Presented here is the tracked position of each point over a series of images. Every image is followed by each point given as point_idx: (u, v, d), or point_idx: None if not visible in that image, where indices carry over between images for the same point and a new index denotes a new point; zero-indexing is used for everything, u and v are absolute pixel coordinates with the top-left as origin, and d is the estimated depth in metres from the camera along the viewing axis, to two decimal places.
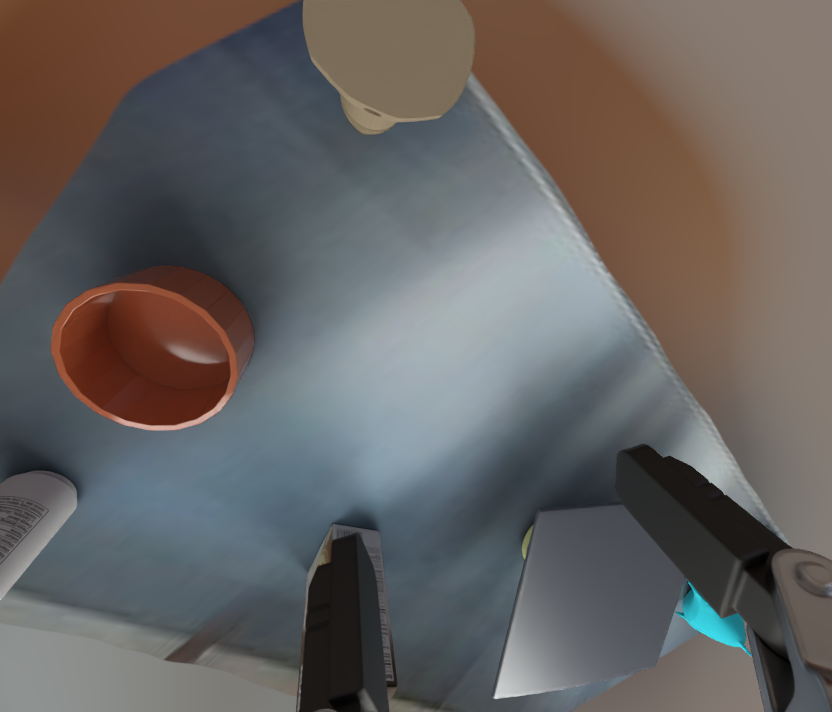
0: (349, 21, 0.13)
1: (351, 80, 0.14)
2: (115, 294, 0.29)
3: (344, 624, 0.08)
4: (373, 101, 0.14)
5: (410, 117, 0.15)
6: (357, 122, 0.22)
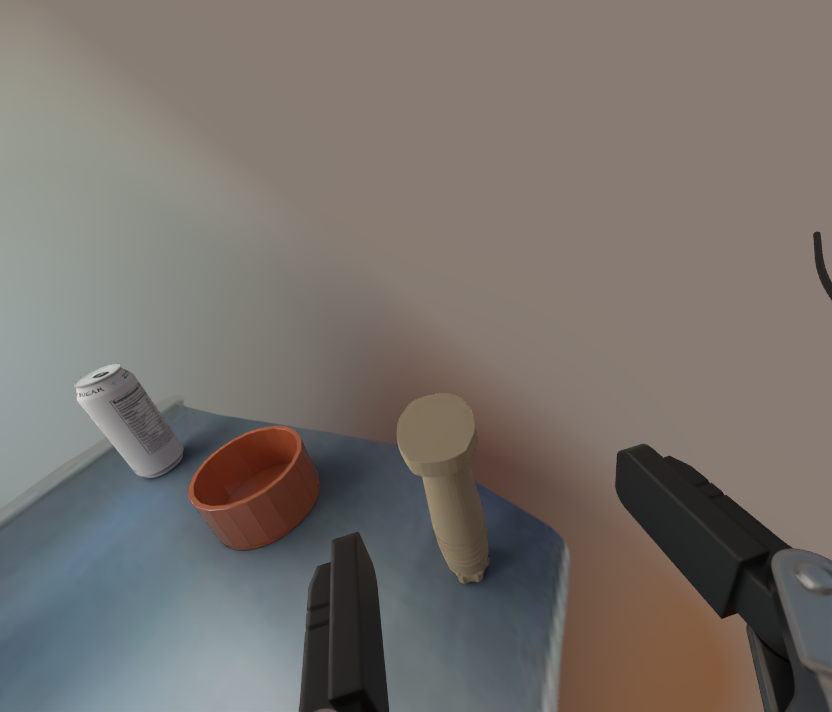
0: (430, 409, 0.24)
1: (405, 418, 0.24)
2: None
3: (344, 624, 0.08)
4: (400, 429, 0.23)
5: (399, 446, 0.22)
6: None
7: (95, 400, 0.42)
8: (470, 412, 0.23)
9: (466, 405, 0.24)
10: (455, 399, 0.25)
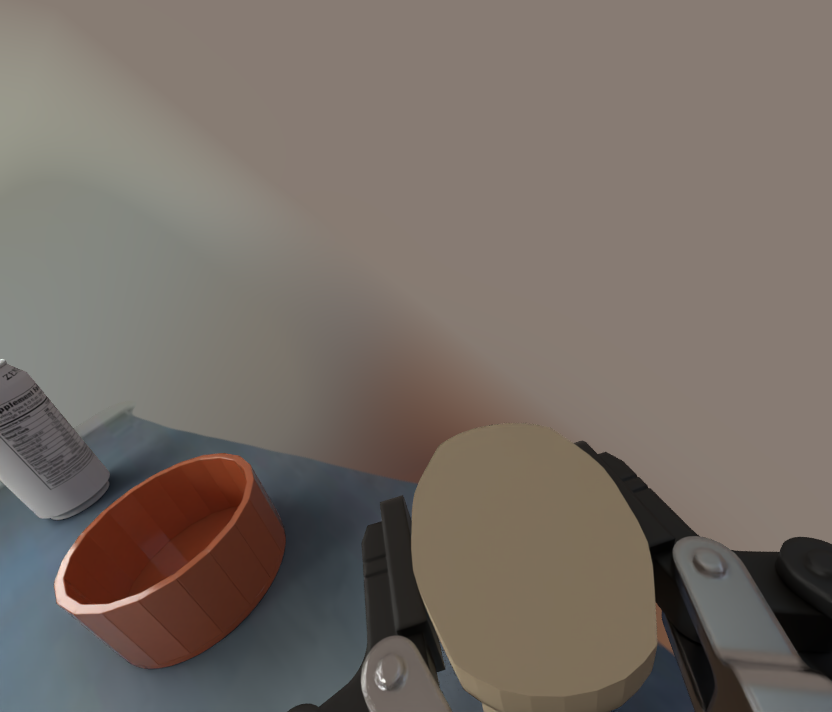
0: (494, 465, 0.10)
1: (433, 489, 0.09)
2: None
3: (402, 570, 0.09)
4: (421, 524, 0.09)
5: (421, 591, 0.07)
6: None
7: None
8: (609, 482, 0.09)
9: (589, 459, 0.09)
10: (553, 440, 0.10)
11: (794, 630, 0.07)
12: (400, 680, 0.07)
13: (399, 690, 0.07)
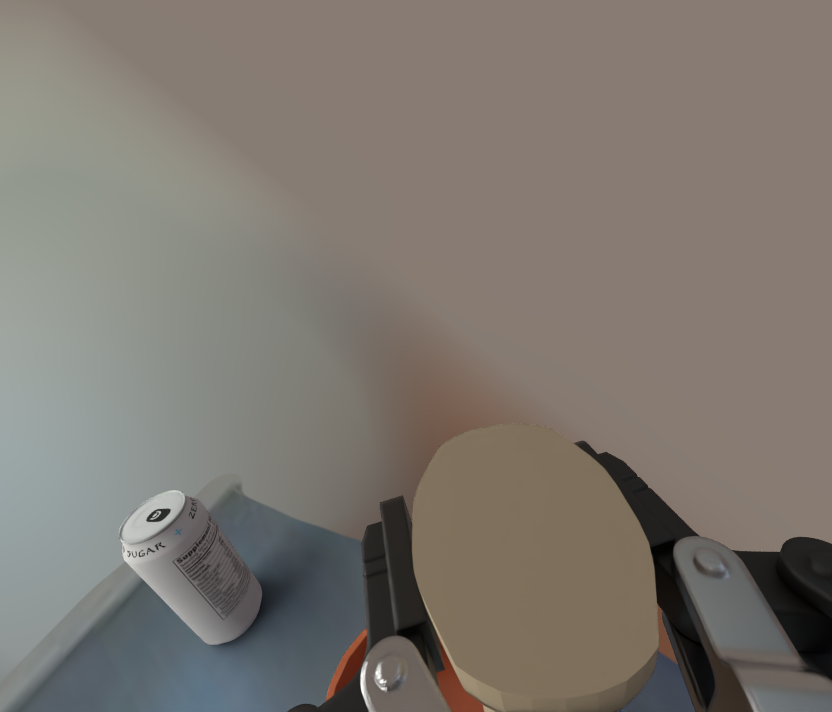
0: (495, 466, 0.10)
1: (433, 491, 0.09)
2: None
3: (402, 570, 0.09)
4: (421, 525, 0.09)
5: (422, 592, 0.07)
6: None
7: (151, 563, 0.28)
8: (610, 483, 0.09)
9: (590, 460, 0.09)
10: (553, 441, 0.10)
11: (794, 630, 0.07)
12: (400, 680, 0.07)
13: (399, 690, 0.07)
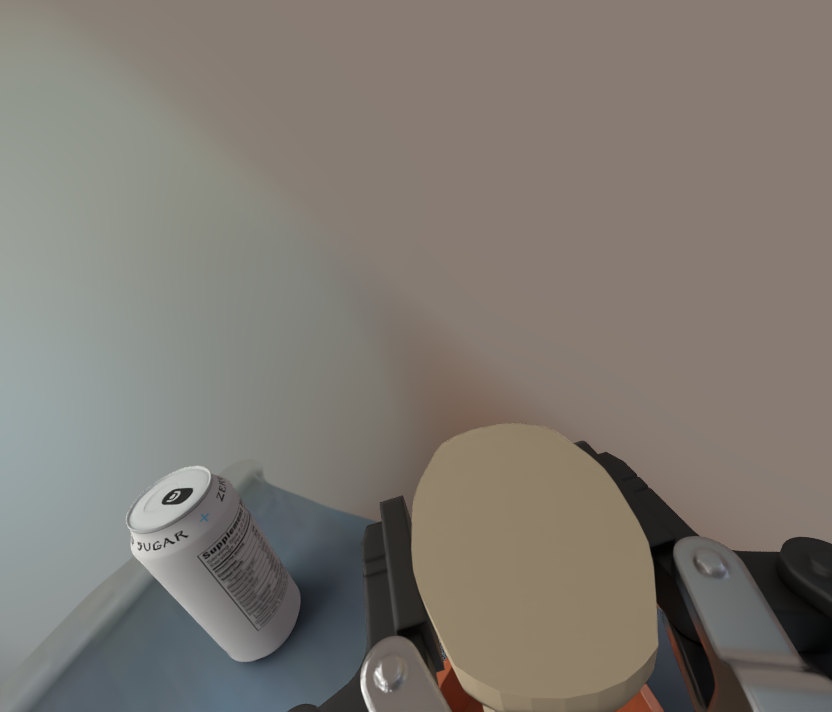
0: (495, 466, 0.10)
1: (433, 490, 0.09)
2: None
3: (401, 570, 0.09)
4: (421, 525, 0.09)
5: (422, 592, 0.07)
6: None
7: (170, 559, 0.21)
8: (610, 483, 0.09)
9: (590, 460, 0.09)
10: (553, 441, 0.10)
11: (794, 630, 0.07)
12: (400, 680, 0.07)
13: (399, 690, 0.07)
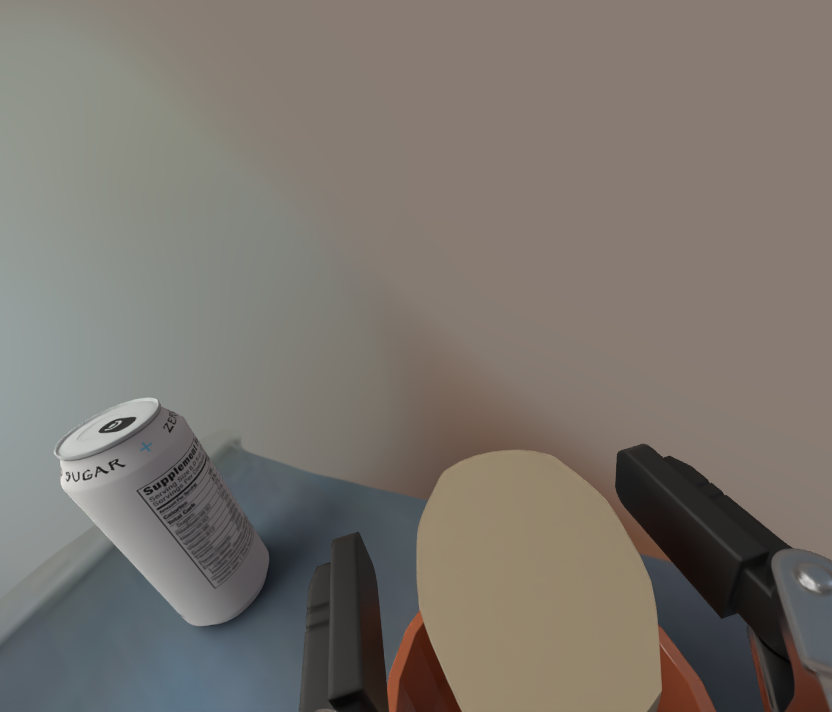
0: (498, 496, 0.10)
1: (437, 521, 0.10)
2: None
3: (344, 624, 0.08)
4: (426, 558, 0.09)
5: (428, 630, 0.07)
6: None
7: (102, 491, 0.18)
8: (612, 516, 0.09)
9: (592, 490, 0.09)
10: (555, 469, 0.10)
11: None
12: None
13: None
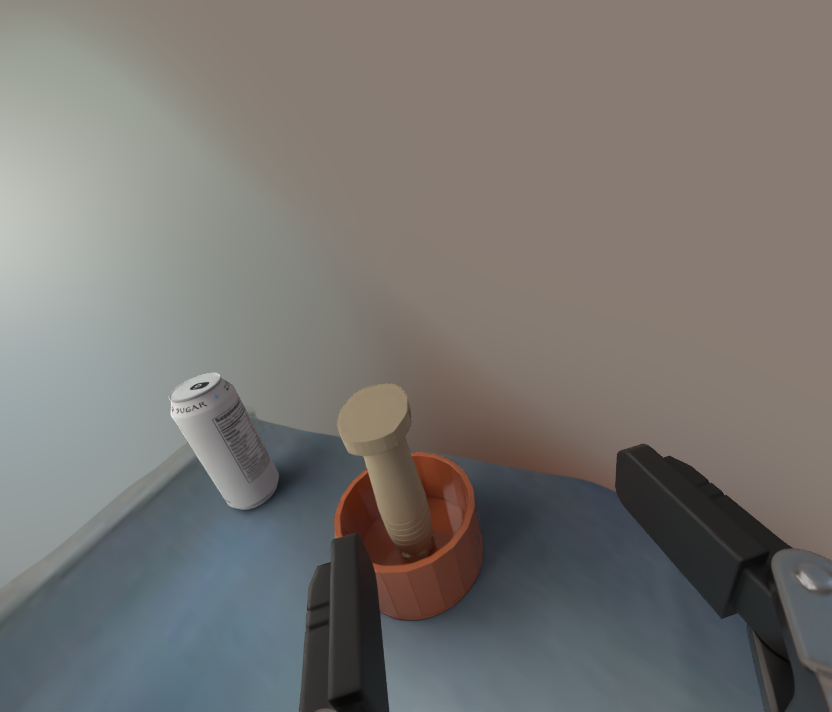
0: (372, 397, 0.27)
1: (349, 405, 0.26)
2: (439, 497, 0.36)
3: (344, 624, 0.08)
4: (342, 414, 0.25)
5: (338, 428, 0.24)
6: None
7: (195, 418, 0.34)
8: (405, 399, 0.25)
9: (403, 393, 0.26)
10: (395, 388, 0.27)
11: None
12: None
13: None
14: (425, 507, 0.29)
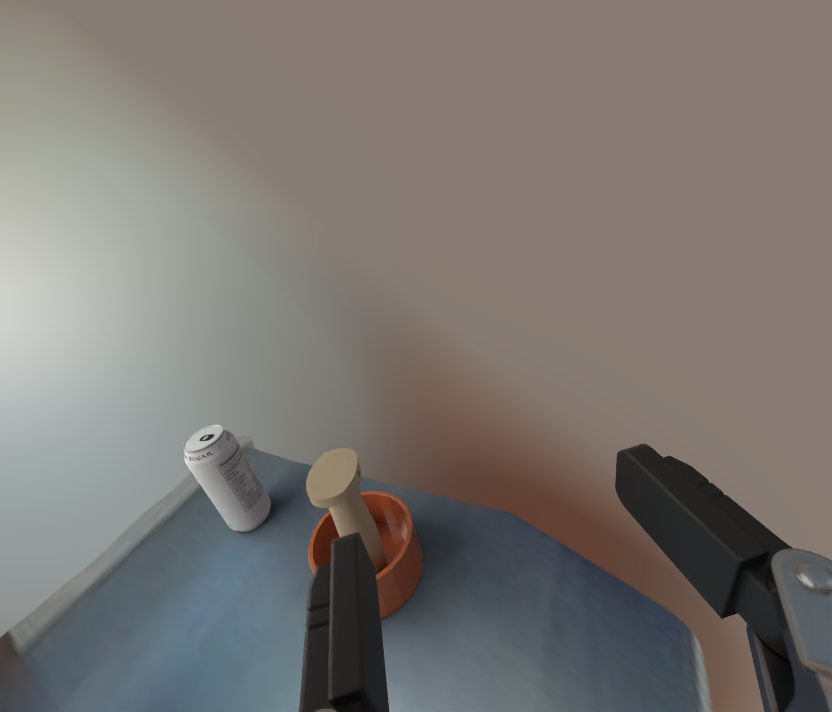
0: (333, 460, 0.36)
1: (316, 466, 0.36)
2: (395, 524, 0.46)
3: (344, 624, 0.08)
4: (310, 474, 0.35)
5: (306, 487, 0.34)
6: None
7: (204, 464, 0.44)
8: (356, 463, 0.35)
9: (355, 458, 0.36)
10: (351, 453, 0.37)
11: None
12: None
13: None
14: (375, 538, 0.39)
